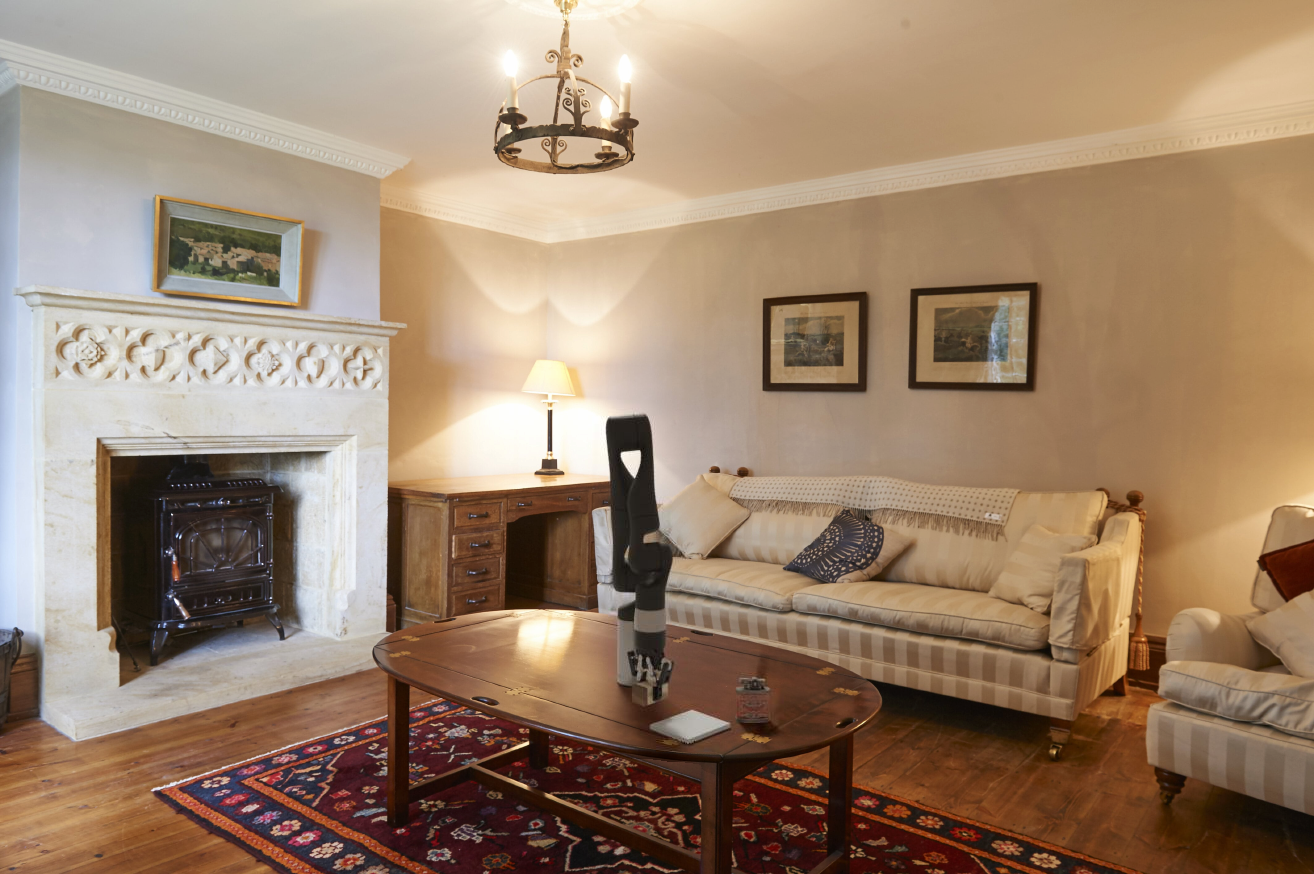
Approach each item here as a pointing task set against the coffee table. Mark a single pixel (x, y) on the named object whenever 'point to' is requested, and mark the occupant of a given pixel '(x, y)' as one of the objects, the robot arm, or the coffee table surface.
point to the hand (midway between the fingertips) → (649, 697)
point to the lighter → (752, 701)
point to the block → (646, 692)
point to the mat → (690, 726)
